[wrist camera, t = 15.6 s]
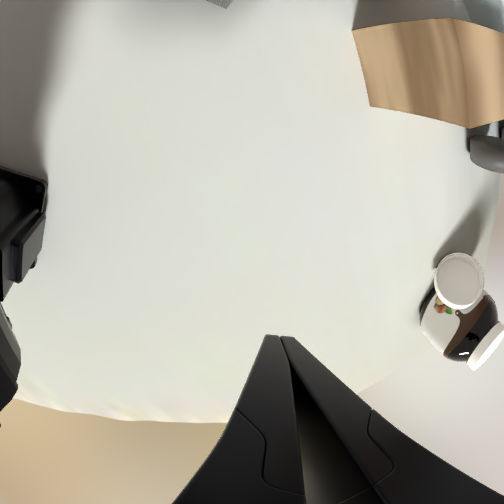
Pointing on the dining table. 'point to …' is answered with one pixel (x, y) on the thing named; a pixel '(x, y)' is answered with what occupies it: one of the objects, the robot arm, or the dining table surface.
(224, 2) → the holder
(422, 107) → the block
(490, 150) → the trolley
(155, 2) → the dining table surface
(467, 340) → the spread jar
